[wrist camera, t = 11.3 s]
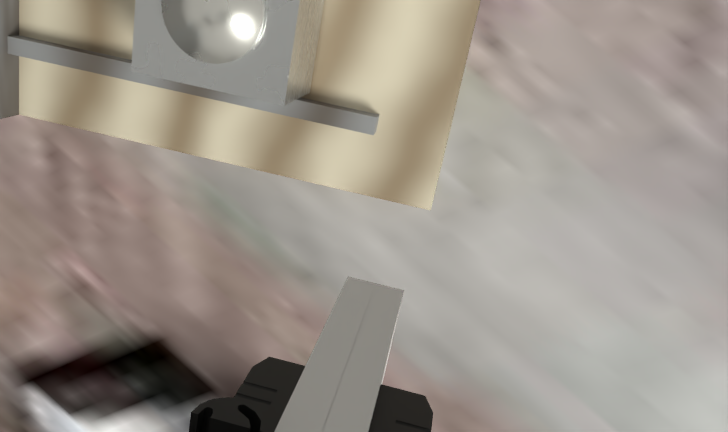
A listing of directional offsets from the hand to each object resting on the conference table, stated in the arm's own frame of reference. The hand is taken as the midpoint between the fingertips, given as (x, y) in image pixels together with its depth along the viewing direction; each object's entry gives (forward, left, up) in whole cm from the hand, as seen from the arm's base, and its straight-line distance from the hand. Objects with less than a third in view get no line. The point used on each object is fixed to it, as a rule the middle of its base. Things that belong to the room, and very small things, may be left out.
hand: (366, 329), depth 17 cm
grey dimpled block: (-11, +9, -20) cm, 25 cm away
